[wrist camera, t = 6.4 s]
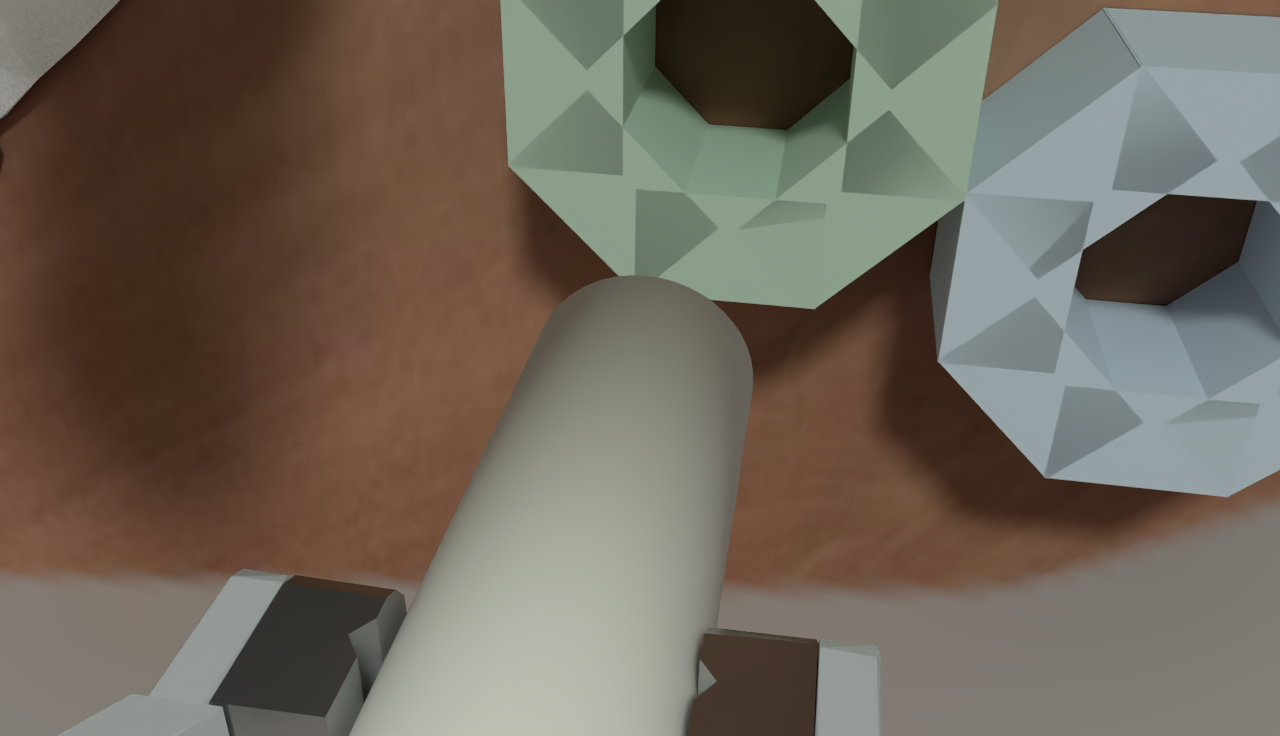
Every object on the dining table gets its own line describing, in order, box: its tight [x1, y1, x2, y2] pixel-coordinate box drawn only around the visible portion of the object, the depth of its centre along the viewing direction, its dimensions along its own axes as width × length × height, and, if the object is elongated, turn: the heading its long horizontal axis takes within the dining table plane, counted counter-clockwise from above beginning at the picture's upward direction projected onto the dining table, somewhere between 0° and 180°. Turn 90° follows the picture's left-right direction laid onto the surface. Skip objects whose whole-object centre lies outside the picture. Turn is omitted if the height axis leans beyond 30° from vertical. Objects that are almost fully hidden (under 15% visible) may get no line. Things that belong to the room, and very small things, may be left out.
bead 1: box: [501, 0, 999, 310], centre depth 27 cm, size 10×10×4 cm
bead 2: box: [929, 7, 1280, 497], centre depth 27 cm, size 10×10×4 cm
